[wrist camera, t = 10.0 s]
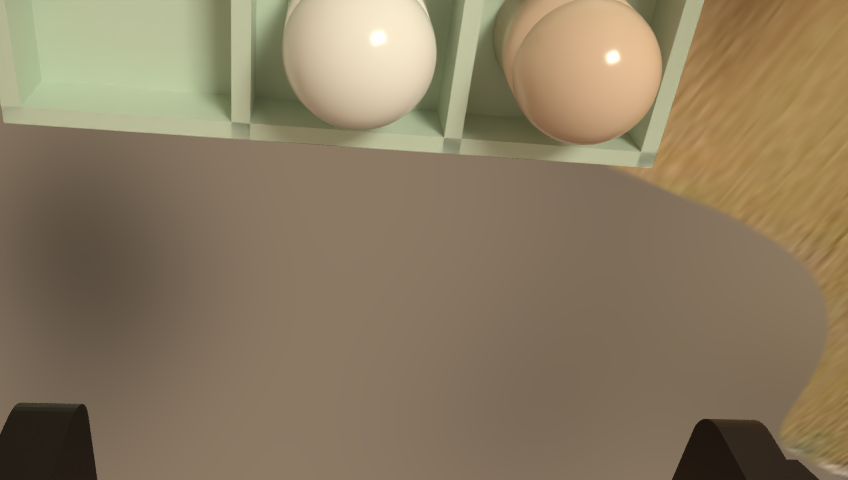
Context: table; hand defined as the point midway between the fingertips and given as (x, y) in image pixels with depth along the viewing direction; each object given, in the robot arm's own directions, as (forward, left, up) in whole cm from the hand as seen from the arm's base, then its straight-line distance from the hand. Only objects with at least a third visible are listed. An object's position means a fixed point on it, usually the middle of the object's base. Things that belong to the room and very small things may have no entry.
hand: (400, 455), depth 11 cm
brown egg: (0, +7, -19) cm, 21 cm away
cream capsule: (0, 0, -19) cm, 19 cm away
